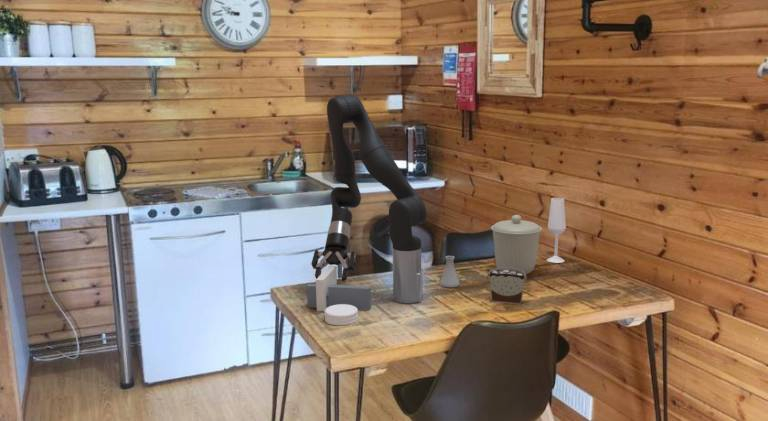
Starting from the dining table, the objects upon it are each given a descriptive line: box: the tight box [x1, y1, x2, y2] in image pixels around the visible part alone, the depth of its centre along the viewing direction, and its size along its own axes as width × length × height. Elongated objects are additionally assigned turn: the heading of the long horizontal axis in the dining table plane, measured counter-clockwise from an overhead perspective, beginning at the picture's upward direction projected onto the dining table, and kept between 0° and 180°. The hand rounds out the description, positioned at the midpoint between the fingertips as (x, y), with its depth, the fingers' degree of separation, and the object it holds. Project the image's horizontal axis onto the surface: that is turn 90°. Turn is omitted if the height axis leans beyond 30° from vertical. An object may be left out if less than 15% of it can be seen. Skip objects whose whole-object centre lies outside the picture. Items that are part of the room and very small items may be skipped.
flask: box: [439, 255, 461, 288], centre depth 241 cm, size 7×7×10 cm
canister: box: [490, 214, 543, 275], centre depth 254 cm, size 18×18×21 cm
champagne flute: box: [546, 197, 567, 264], centre depth 267 cm, size 7×7×24 cm
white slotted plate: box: [315, 265, 338, 312], centre depth 225 cm, size 16×2×10 cm, turn 169°
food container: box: [487, 267, 527, 305], centre depth 225 cm, size 12×6×10 cm, turn 71°
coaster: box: [324, 304, 359, 326], centre depth 211 cm, size 10×10×4 cm
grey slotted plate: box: [306, 283, 372, 311], centre depth 221 cm, size 20×2×7 cm, turn 79°
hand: (330, 279), depth 230 cm, fingers open, 8 cm apart
